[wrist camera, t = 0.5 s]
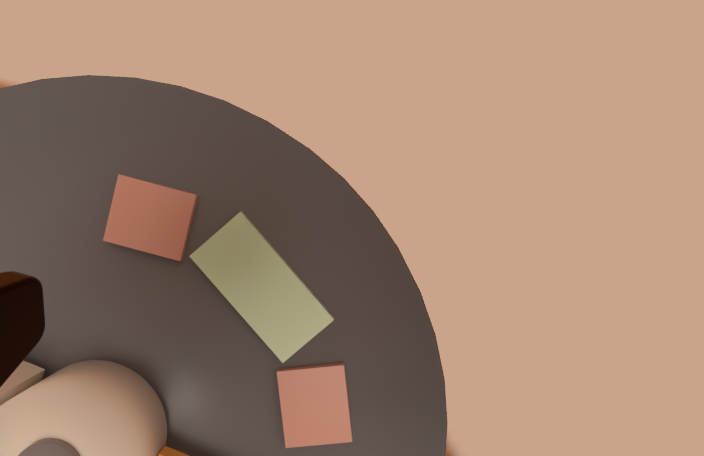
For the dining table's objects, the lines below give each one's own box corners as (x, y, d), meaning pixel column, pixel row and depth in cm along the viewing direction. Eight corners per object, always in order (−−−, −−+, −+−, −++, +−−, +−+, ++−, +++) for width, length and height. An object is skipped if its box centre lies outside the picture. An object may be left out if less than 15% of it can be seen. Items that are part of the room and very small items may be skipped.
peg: (396, 475, 20) (403, 541, 16) (344, 598, 21) (339, 690, 17) (-193, 238, 20) (-323, 250, 16) (-235, 366, 21) (-370, 407, 17)
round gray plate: (299, 805, 23) (295, 848, 22) (-278, 574, 23) (-323, 602, 21) (547, 232, 21) (561, 235, 20) (-82, -22, 21) (-116, -37, 20)
